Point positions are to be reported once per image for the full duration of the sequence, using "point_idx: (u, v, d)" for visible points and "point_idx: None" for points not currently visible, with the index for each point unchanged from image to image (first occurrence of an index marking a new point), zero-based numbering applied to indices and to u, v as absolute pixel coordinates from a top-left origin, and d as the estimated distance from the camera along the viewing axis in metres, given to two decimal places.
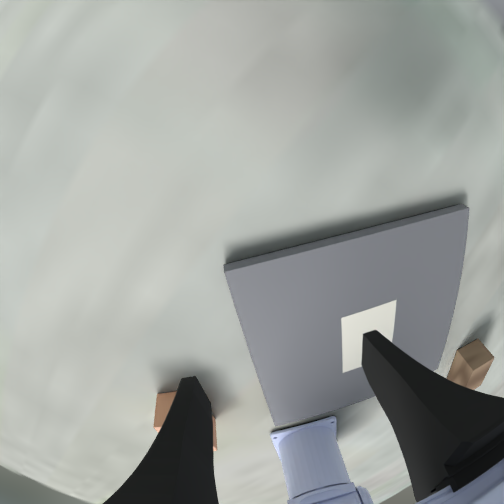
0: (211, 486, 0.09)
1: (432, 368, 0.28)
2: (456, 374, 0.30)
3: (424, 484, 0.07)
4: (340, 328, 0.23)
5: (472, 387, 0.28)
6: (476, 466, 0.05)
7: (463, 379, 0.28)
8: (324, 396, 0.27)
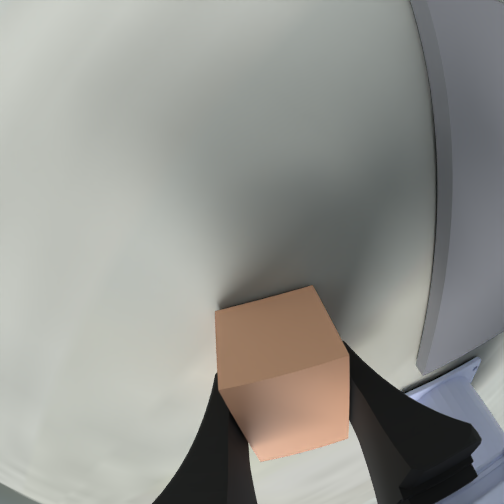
0: (250, 481, 0.09)
1: None
2: None
3: (385, 502, 0.07)
4: None
5: None
6: (436, 490, 0.05)
7: None
8: (499, 302, 0.13)
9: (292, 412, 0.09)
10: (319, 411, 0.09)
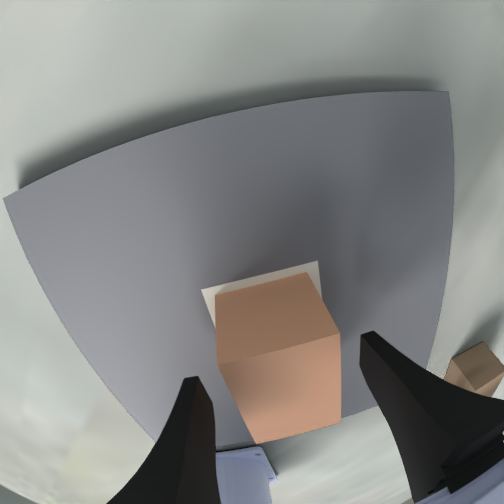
0: (214, 486, 0.09)
1: None
2: None
3: (421, 485, 0.07)
4: (206, 310, 0.13)
5: None
6: (473, 468, 0.05)
7: None
8: (222, 422, 0.17)
9: (286, 390, 0.10)
10: (312, 391, 0.10)
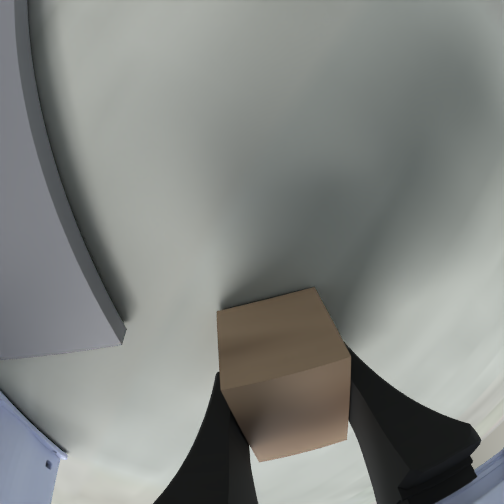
0: (250, 481, 0.09)
1: (96, 337, 0.11)
2: None
3: (384, 502, 0.07)
4: None
5: (299, 443, 0.11)
6: (435, 491, 0.05)
7: None
8: None
9: None
10: None
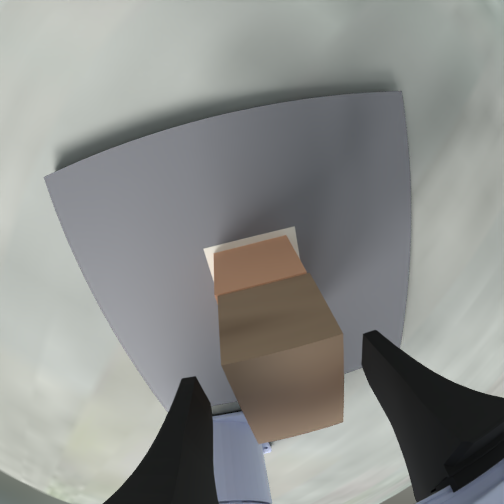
0: (211, 486, 0.09)
1: None
2: None
3: (424, 484, 0.07)
4: (207, 266, 0.17)
5: (296, 424, 0.11)
6: (476, 466, 0.05)
7: None
8: (219, 377, 0.21)
9: None
10: None
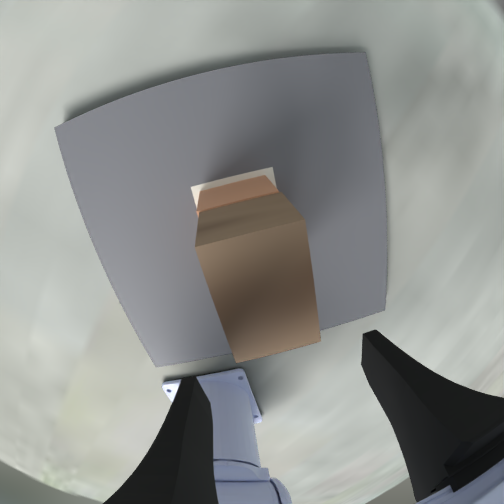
0: (211, 486, 0.09)
1: (376, 307, 0.23)
2: None
3: (424, 484, 0.07)
4: (193, 204, 0.18)
5: (272, 337, 0.13)
6: (476, 466, 0.05)
7: None
8: (206, 325, 0.22)
9: None
10: None
